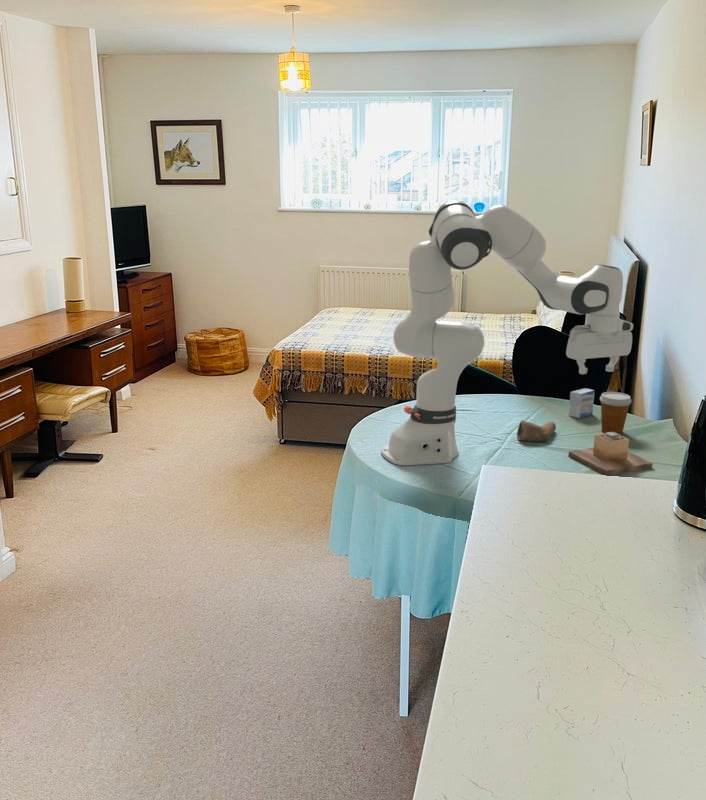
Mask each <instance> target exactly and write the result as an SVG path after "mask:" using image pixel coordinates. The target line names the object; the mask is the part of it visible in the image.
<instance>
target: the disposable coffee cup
mask: <svg viewBox="0 0 706 800" xmlns="http://www.w3.org/2000/svg"><path fill="white" fill-rule="evenodd" d="M631 398H632V397H631V396H630V395H629V394H626V393H623V392H618V391H617V392H616V391H607V392H606V391H605V392H602V393H601V395H600V397H599V401H600V410H601V411H600V413H601V414H600V415H601V417H600V418H601V420H600V421H601V432H602V433H603V434H604V433H608V432H615V433H617V434H619V435H622V434H623V433H624V432H623V431H624V427H625V423H626V419H627V416H628V411H629V409H630V405H631V403H632V399H631Z"/></svg>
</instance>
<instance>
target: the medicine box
mask: <svg viewBox="0 0 706 800" xmlns="http://www.w3.org/2000/svg"><path fill="white" fill-rule="evenodd" d="M594 401H595V390H594V389H591V388H585V387H584V388H580V389H576V390H572V391H570V394H569V404H568V405H569V406H568V416H569V417H571V418H575V419H583V418H585V417H588V416H591V415H593V411H594Z"/></svg>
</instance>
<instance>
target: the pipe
mask: <svg viewBox="0 0 706 800" xmlns="http://www.w3.org/2000/svg"><path fill="white" fill-rule="evenodd" d="M556 426H557V425H556V424H555V423H554V421H547V422H546V423H544V424H542V425H537V424H536V423H532V422H529V421H524V420H520V423H519V425H518V428H517V432H516V439H517V441H519V442H521V441H522V442H532V443H533V442H547V441H549V439H550V437H551V436H552V434H553V433H554V432H555V431H556V429H557V427H556Z"/></svg>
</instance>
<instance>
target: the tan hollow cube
mask: <svg viewBox="0 0 706 800" xmlns="http://www.w3.org/2000/svg"><path fill="white" fill-rule="evenodd" d="M605 435H606V433H604V432H603V433H599V434H594V441H593V448H594V449H593V455H595V456H597V457H599V458H601V459H603V460H605V461H607V462H614V461H620V460H626V459H627V454H628V452H629V447H630V446H629V445H630V439H629V438H627V437H626V436H623V435H622V434H619V437H620V438H622V439H621V440H614V441H610V440H608V439H606V438H603V436H605Z"/></svg>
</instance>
